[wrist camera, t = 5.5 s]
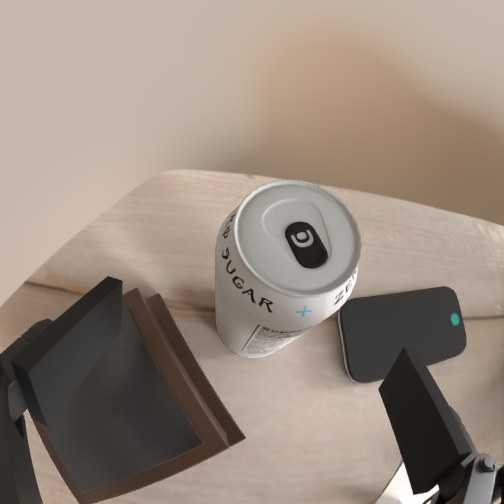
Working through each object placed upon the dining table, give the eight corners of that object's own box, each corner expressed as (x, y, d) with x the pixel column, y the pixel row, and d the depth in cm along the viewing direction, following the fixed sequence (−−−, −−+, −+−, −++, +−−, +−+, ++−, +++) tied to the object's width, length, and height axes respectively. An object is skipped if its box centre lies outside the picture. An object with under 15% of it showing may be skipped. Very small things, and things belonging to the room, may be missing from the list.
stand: (162, 298, 24) (142, 263, 17) (244, 434, 20) (256, 454, 13) (42, 361, 20) (-8, 345, 13) (110, 494, 16) (76, 524, 9)
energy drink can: (270, 278, 26) (327, 156, 12) (300, 342, 24) (401, 275, 10) (204, 302, 24) (193, 188, 11) (232, 370, 22) (257, 343, 9)
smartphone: (469, 350, 23) (350, 387, 21) (464, 352, 24) (346, 387, 22) (454, 283, 27) (337, 299, 25) (450, 286, 28) (333, 302, 25)
